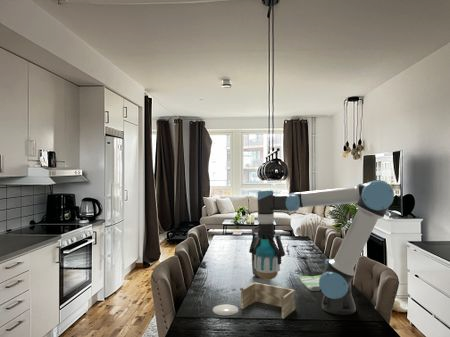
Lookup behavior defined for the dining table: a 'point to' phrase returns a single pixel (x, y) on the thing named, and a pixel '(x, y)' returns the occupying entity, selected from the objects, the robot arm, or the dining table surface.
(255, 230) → the vase
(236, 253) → the dining table surface
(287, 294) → the light wood u-shaped piece
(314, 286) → the dish towel
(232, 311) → the disc
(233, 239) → the dining table surface
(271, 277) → the vase
